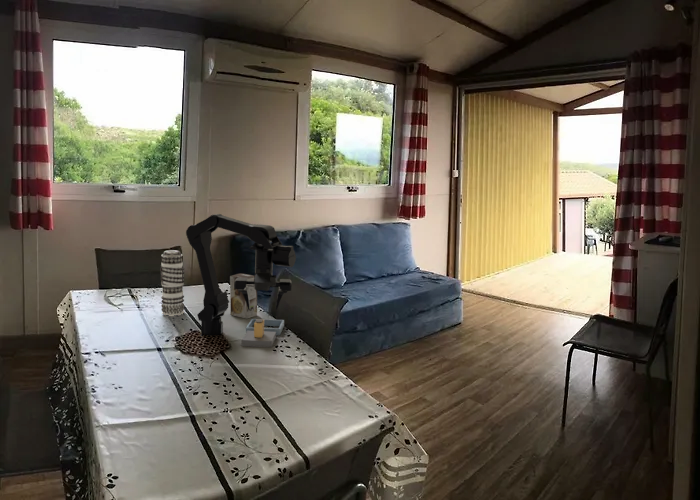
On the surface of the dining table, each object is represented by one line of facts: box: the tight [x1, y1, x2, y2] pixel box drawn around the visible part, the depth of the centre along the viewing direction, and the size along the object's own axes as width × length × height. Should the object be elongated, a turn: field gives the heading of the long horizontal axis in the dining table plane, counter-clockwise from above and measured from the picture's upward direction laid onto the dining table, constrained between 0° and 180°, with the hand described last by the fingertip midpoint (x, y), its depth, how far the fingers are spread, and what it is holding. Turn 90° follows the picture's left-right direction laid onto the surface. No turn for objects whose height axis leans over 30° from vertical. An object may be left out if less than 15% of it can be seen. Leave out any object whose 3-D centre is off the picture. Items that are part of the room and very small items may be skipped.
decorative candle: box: [159, 249, 185, 317], centre depth 212 cm, size 9×9×25 cm
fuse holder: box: [240, 331, 277, 348], centre depth 182 cm, size 10×10×3 cm
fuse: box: [253, 318, 265, 338], centre depth 182 cm, size 3×4×7 cm, turn 0°
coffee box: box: [229, 273, 258, 320], centre depth 214 cm, size 9×6×16 cm
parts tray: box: [245, 318, 285, 336], centre depth 195 cm, size 12×11×3 cm
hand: (262, 309), depth 181 cm, fingers open, 9 cm apart
